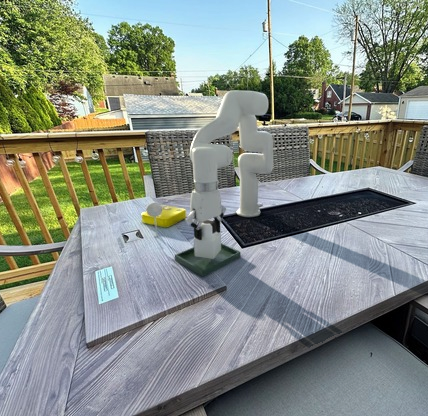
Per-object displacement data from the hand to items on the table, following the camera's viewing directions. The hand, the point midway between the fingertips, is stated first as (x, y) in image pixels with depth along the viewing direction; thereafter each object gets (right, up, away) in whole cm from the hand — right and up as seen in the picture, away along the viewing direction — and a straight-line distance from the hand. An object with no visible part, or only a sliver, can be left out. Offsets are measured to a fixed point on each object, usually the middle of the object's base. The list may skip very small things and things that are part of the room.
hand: (207, 234), depth 91 cm
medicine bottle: (0, -7, +3) cm, 8 cm away
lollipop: (-25, -3, +17) cm, 31 cm away
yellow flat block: (-29, +4, +34) cm, 45 cm away
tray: (0, -9, +3) cm, 9 cm away
